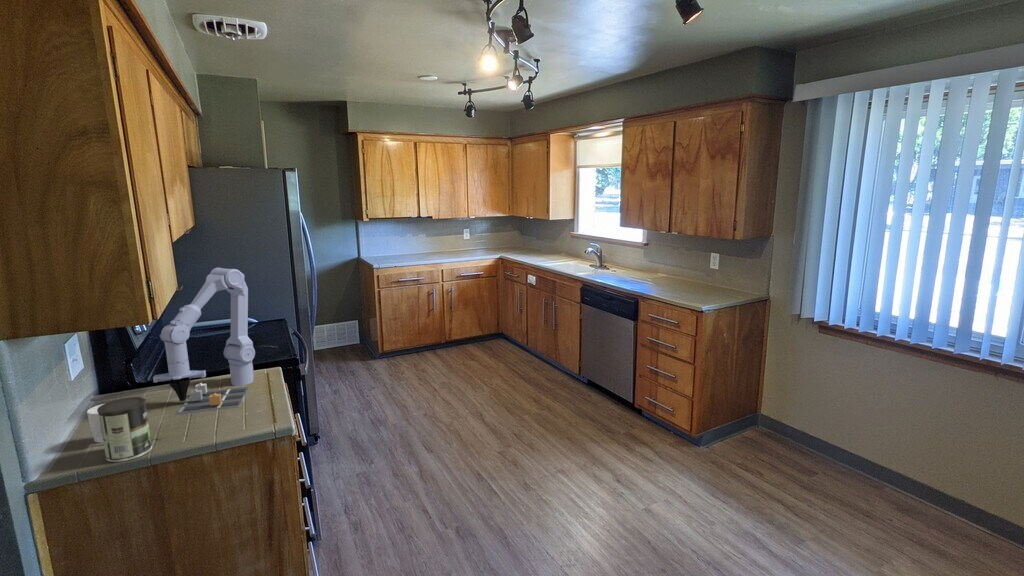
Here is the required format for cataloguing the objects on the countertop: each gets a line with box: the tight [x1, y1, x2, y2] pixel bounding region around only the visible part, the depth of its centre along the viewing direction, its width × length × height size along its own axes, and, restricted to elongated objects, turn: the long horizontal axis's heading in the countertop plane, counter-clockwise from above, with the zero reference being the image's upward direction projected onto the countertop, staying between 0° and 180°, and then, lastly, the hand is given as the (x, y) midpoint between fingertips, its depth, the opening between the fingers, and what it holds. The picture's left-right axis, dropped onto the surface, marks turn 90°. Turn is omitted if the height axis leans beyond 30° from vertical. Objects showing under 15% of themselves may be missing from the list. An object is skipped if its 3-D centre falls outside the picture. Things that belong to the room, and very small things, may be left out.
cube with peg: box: [189, 389, 203, 401], centre depth 167 cm, size 2×3×4 cm, turn 108°
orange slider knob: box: [209, 393, 222, 406], centre depth 163 cm, size 2×3×4 cm, turn 108°
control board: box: [174, 386, 249, 416], centre depth 169 cm, size 19×18×1 cm
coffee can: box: [97, 396, 153, 463], centre depth 135 cm, size 10×10×14 cm
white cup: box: [86, 403, 105, 444], centre depth 142 cm, size 8×8×10 cm
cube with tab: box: [194, 382, 208, 394], centre depth 172 cm, size 2×3×4 cm, turn 108°
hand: (183, 399), depth 166 cm, fingers closed
